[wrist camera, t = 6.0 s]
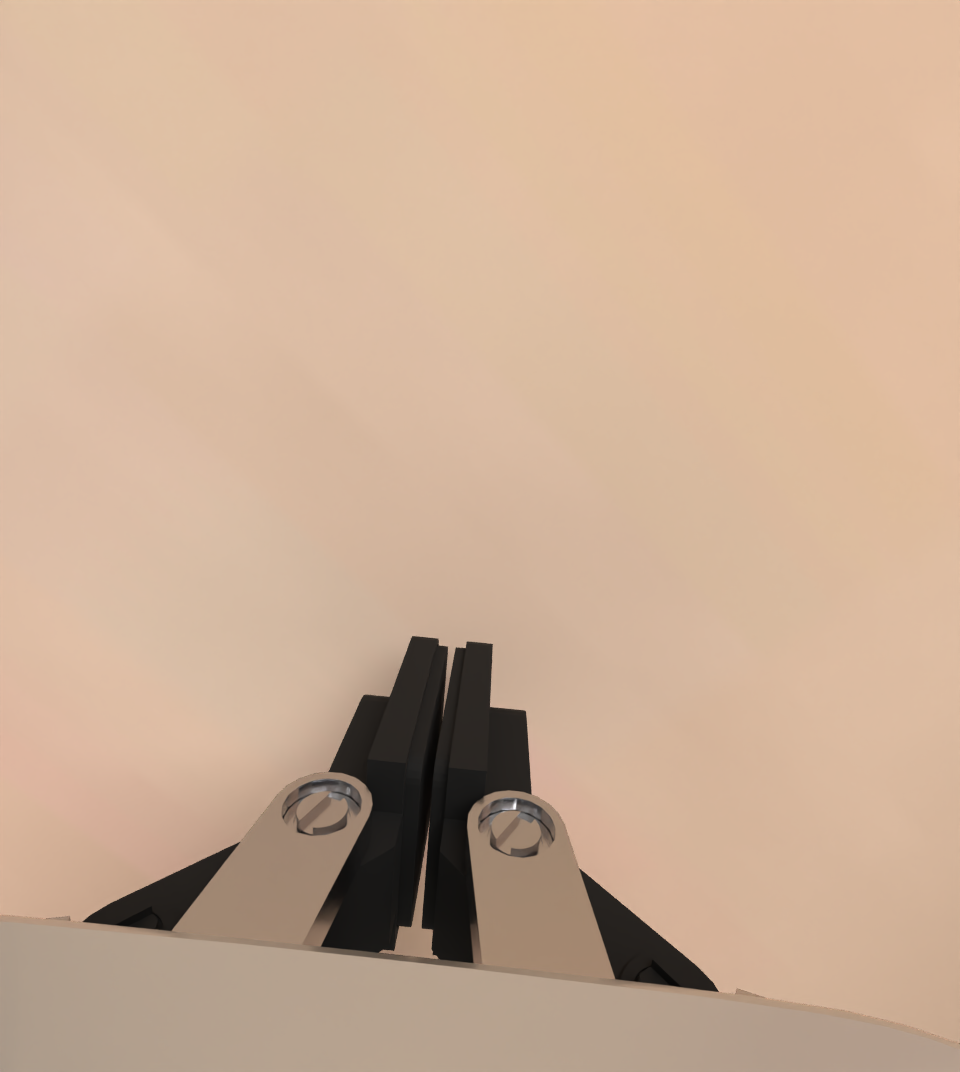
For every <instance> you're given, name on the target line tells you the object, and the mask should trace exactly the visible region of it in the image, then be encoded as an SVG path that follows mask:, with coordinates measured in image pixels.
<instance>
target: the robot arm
mask: <svg viewBox="0 0 960 1072" xmlns="http://www.w3.org/2000/svg"><path fill="white" fill-rule="evenodd" d="M492 647H493V644H487V643H477V642H467V644H466V648H456V649H455V655H454V660H453V666H452V671H451V677H450V682H449V688H448V693H447V699H446V704H445V710H444V715H443V706H444V693H445V680H446V667H447V655H448V647H446V646H439V640H438V639H436V638H426V637H416V636H412V638H411V641H410V643H409V646H408V649H407V652H406V654H405V657H404V660H403V663H402V665H401V668H400V671H399V674H398V676H397V679H396V682H395V685H394V687H393V690H392V693H391V696H390V697H384V696H374V695H364V696H363V697H362V699H361V701H360V703H359V706H358V708H357V710H356V712H355V714H354V717H353V719H352V721H351V723H350V725H349V728H348V730H347V732H346V734H345V737H344V739H343V741H342V743H341V745H340V748H339V750H338V752H337V754H336V757H335V759H334V761H333V763H332V765H331V768H330V770H329V772H324V773H315V774H311V775H308V776H305V777H302V778H299V779H298V780H296V781H294V782H292V783H291V784H289V785H287V786H286V787H285V788H284V789H283V790H282V791H281V792H280V793H279V794H278V795H277V796H276V797H275V798H274V800H273V801H272V802H271V803H270V805H269V806H268V807H267V809H266V810H265V811H264V812H263V814H262V815H261V816H260V818H259V819H258V820H257V821H256V823H255V824H254V825H253V827H252V828H251V829H250V830H249V832H248V833H247V834H246V836H245V837H244V838H243V839H242V841H241V842H239V843H237V844H235V845H232V846H230V847H228V848H226V849H224V850H222V851H220V852H218V853H216V854H213V855H211V856H209V857H207V858H205V859H203V860H201V861H199V862H197V863H195V864H192V865H190V866H188V867H186V868H184V869H182V870H180V871H178V872H176V873H173V874H171V875H169V876H167V877H165V878H163V879H161V880H159V881H157V882H154V883H152V884H150V885H148V886H146V887H144V888H142V889H140V890H138V891H135V892H133V893H131V894H129V895H127V896H125V897H123V898H121V899H119V900H117V901H114V902H112V903H110V904H109V905H107V906H105V907H103V908H102V909H100V910H98V911H97V912H95V913H93V914H92V915H90V916H89V917H88V918H87V919H85V920H84V921H83V922H75V921H71V920H70V916H66V917H56V918H46V919H43V918H32V917H21V916H11V915H0V1072H960V1043H957V1042H954V1041H951V1040H948V1039H945V1038H942V1037H939V1036H936V1035H933V1034H930V1033H927V1032H924V1031H921V1030H918V1029H915V1028H912V1027H910V1026H907V1025H904V1024H899V1023H895V1022H891V1021H887V1020H883V1019H878V1018H874V1017H870V1016H866V1015H862V1014H858V1013H854V1012H850V1011H844V1010H838V1009H831V1008H825V1007H819V1006H812V1005H806V1004H800V1003H793V1002H787V1001H781V1000H775V999H768V998H765V997H762V996H759V995H756V994H753V993H750V992H747V991H744V990H741V989H738V988H737V989H736V993H735V994H731V993H723V992H719V991H718V990H717V988H716V987H715V985H714V983H713V982H712V981H711V980H710V979H709V978H708V977H707V976H706V975H705V974H704V973H703V972H702V971H701V970H700V969H699V968H698V967H697V966H696V965H695V964H694V963H692V962H691V961H690V960H689V959H688V958H686V957H685V956H684V955H683V954H682V953H680V952H679V951H678V950H677V949H676V948H674V947H673V946H672V945H671V944H670V943H668V942H667V941H666V940H665V939H664V938H662V937H661V936H660V935H659V934H658V933H656V932H655V931H654V930H653V929H652V928H650V927H649V926H648V925H647V924H646V923H644V922H643V921H642V920H641V919H640V918H638V917H637V916H636V915H635V914H634V913H632V912H631V911H630V910H629V909H628V908H626V907H625V906H624V905H623V904H622V903H620V902H619V901H618V900H617V899H616V898H614V897H613V896H612V895H611V894H610V893H608V892H607V891H606V890H605V889H604V888H602V887H601V886H600V885H599V884H598V883H596V882H595V881H594V880H593V879H592V878H590V877H589V876H588V875H587V874H586V873H584V872H583V871H582V870H581V869H580V868H579V867H578V864H577V861H576V858H575V854H574V851H573V848H572V845H571V842H570V839H569V836H568V833H567V830H566V827H565V824H564V822H563V821H562V819H561V817H560V815H559V813H558V812H557V811H556V810H555V809H554V808H553V807H552V806H551V805H550V804H548V803H547V802H545V801H543V800H542V799H540V798H539V797H537V796H534V795H532V794H531V779H530V763H529V748H528V733H527V718H526V711H524V710H514V709H504V708H494V707H490V691H491V669H492ZM442 718H443V720H442ZM429 821H430V825H429ZM428 827H429V838H428V851H427V864H426V877H425V890H424V904H423V917H422V928H423V929H432V930H433V938H432V951H433V955H436V956H437V957H438V958H439V959H440V960H439V959H430V958H421V957H412V956H403V955H394V954H385V953H379V952H380V951H381V950H393V951H394V949H395V944H396V939H397V934H398V929H399V926H404V927H411V926H412V921H413V915H414V909H415V904H416V898H417V892H418V886H419V880H420V874H421V868H422V862H423V857H424V851H425V845H426V839H427V833H428Z"/></svg>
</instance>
